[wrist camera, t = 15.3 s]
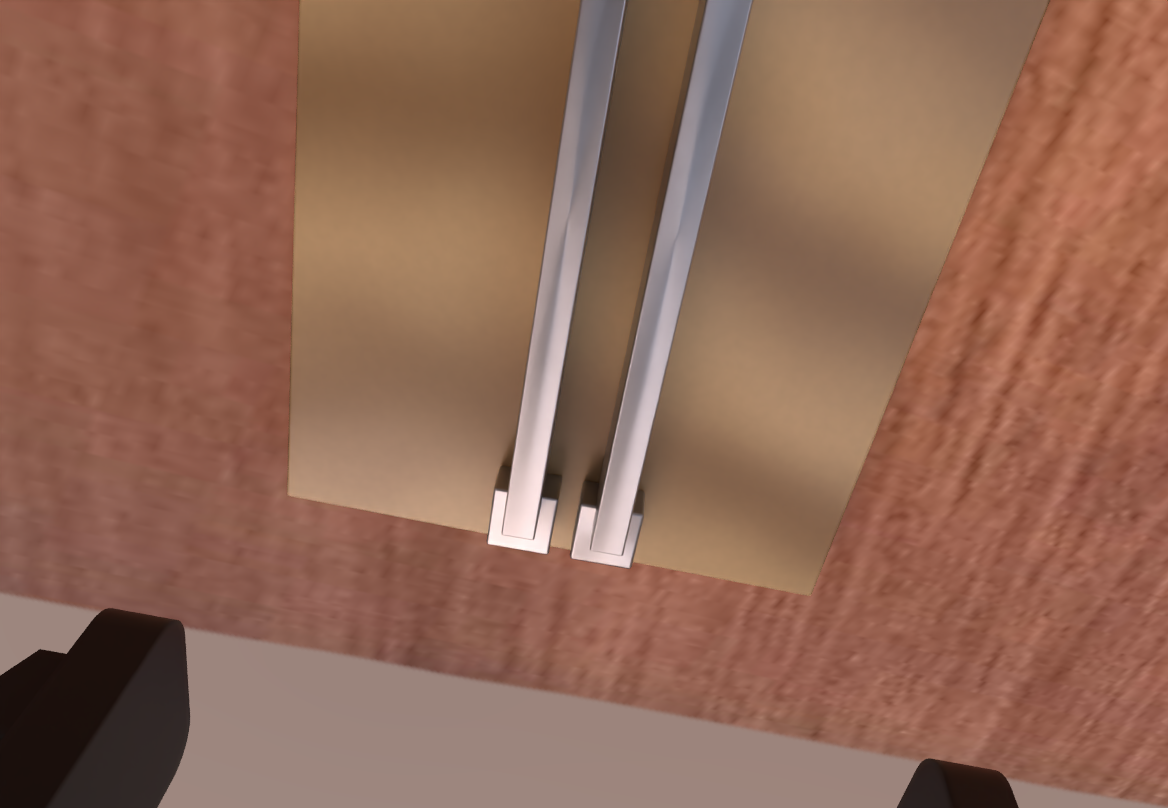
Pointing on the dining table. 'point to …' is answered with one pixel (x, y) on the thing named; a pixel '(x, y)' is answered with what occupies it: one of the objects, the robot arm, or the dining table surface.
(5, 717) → the robot arm
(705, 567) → the cutting board
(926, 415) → the dining table surface
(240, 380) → the dining table surface
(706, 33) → the steel tongs
